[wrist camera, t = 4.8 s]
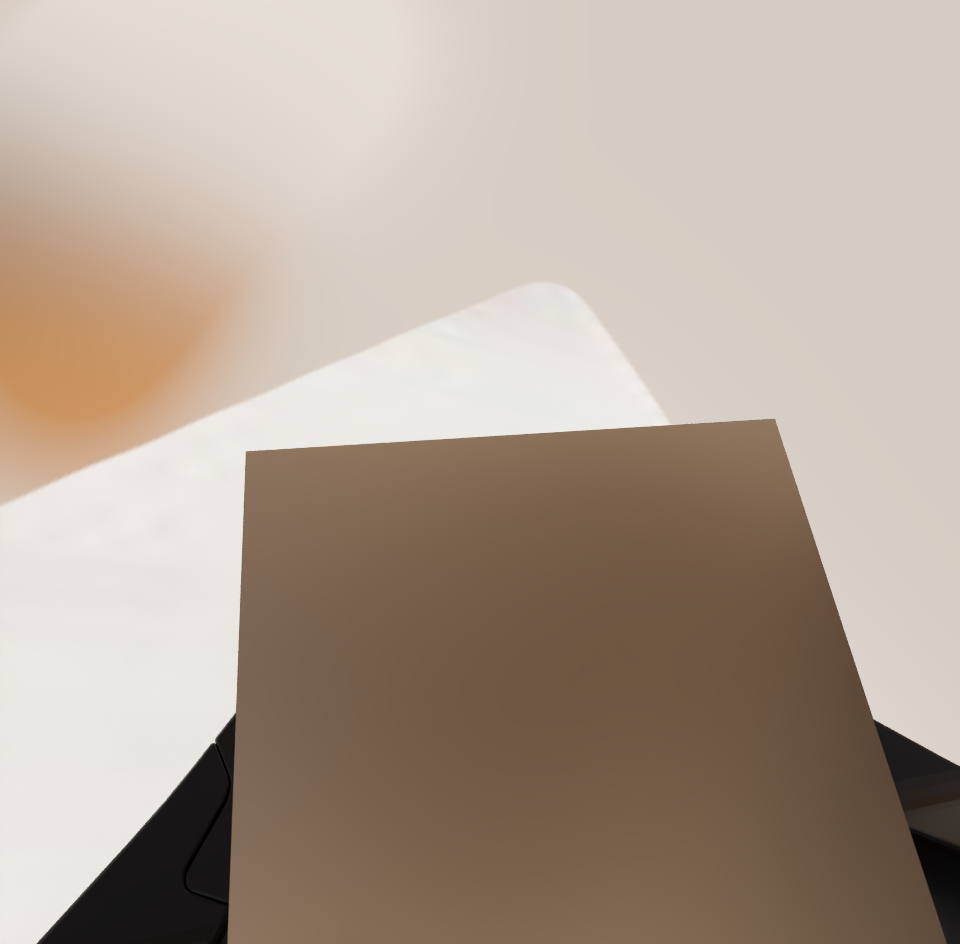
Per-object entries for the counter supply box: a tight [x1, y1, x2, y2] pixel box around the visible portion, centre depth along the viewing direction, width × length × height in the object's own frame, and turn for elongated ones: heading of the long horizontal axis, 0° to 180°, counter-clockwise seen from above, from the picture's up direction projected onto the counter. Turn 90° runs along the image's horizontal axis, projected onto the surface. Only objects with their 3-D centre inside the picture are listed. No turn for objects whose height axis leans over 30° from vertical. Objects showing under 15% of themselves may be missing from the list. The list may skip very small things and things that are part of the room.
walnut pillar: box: [227, 419, 947, 944], centre depth 9 cm, size 5×5×12 cm
